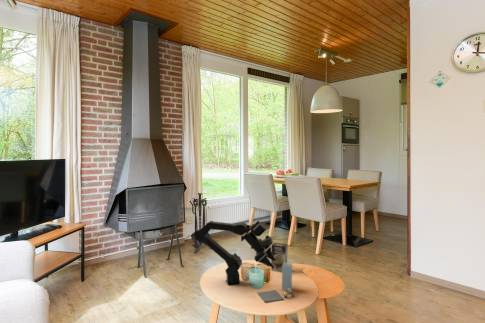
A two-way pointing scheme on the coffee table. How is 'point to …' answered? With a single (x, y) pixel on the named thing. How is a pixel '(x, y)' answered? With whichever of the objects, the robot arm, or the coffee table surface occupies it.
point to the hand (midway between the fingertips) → (273, 263)
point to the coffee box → (279, 256)
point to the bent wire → (289, 293)
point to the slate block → (286, 276)
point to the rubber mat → (270, 296)
